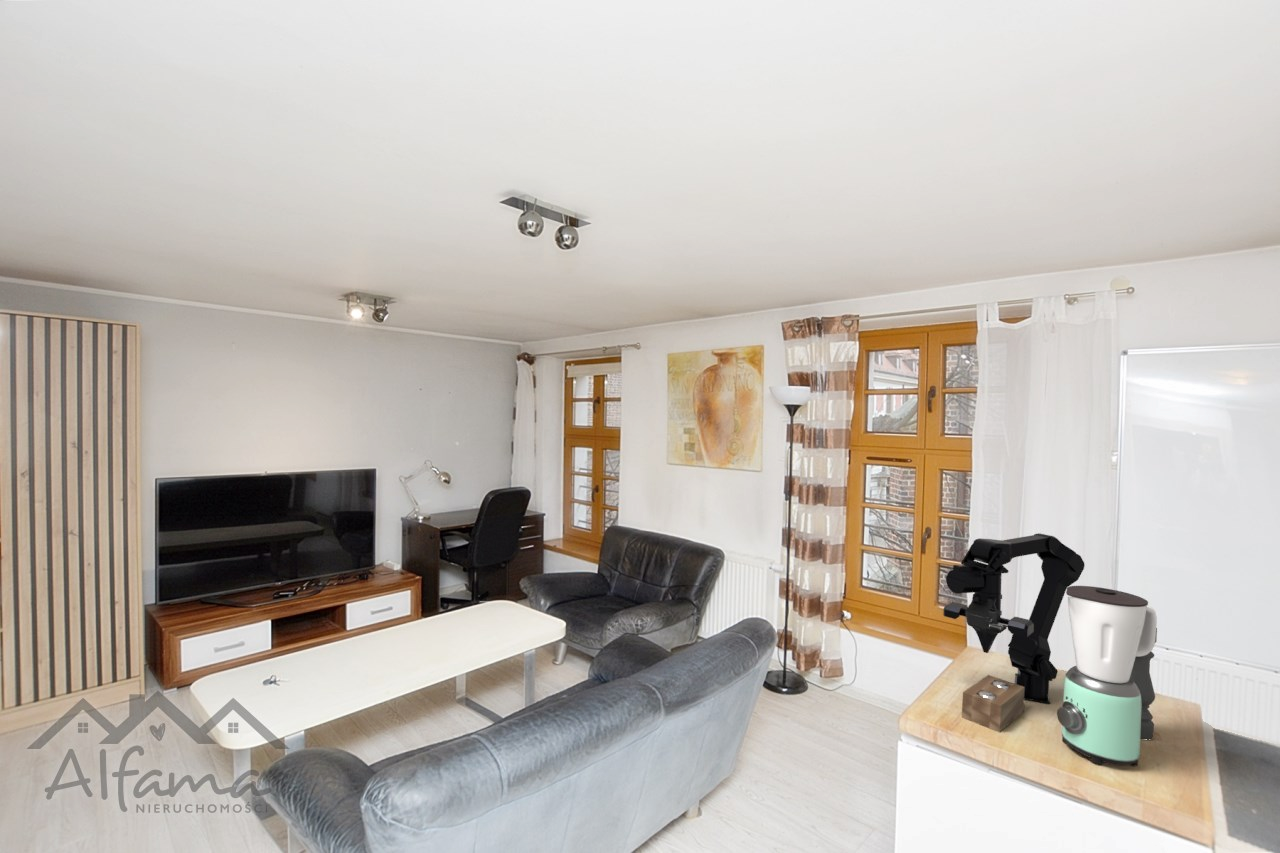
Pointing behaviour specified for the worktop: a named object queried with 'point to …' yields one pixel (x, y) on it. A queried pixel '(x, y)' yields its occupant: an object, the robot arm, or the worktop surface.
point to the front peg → (987, 695)
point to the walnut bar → (993, 703)
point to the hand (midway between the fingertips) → (986, 652)
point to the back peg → (1001, 684)
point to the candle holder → (1144, 692)
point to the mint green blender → (1105, 673)
